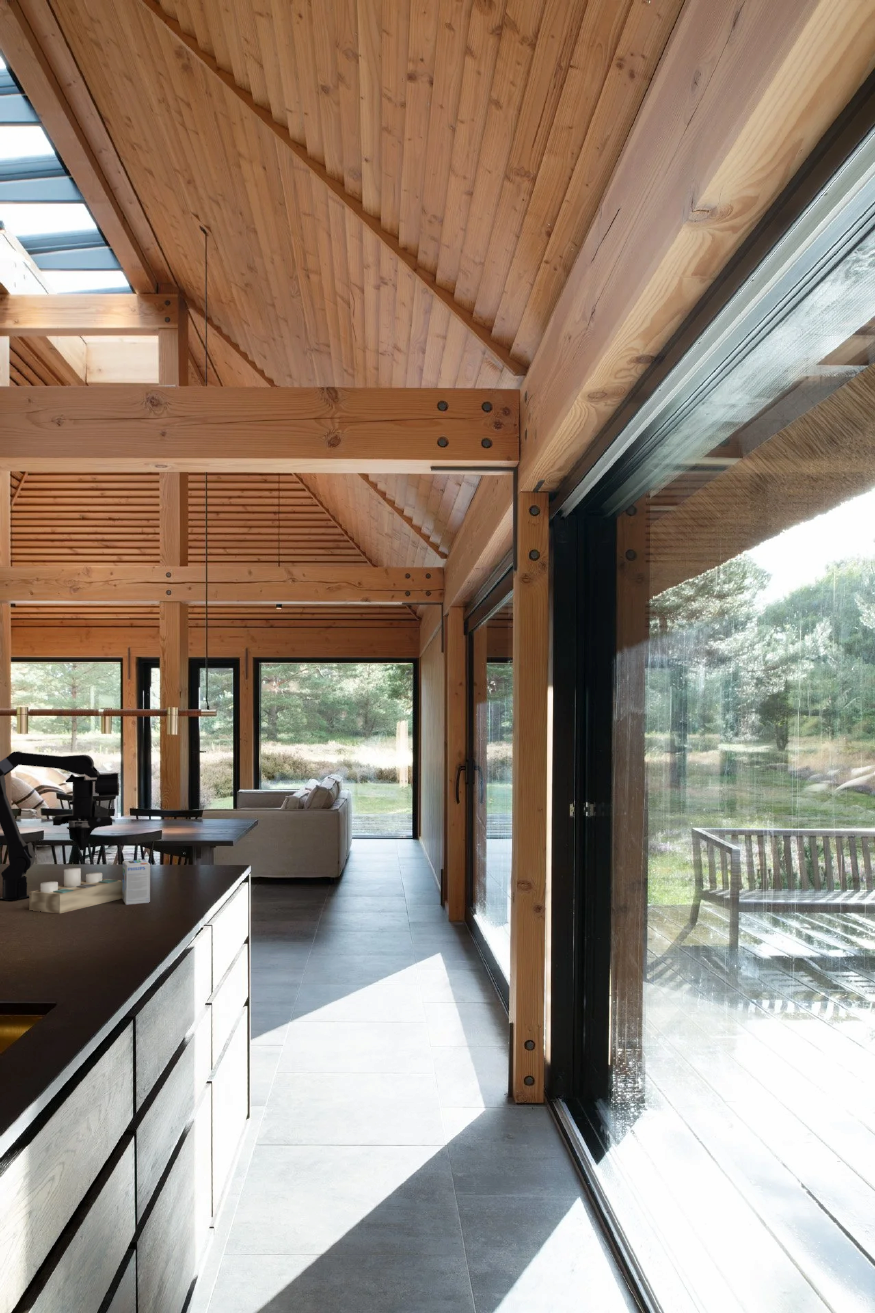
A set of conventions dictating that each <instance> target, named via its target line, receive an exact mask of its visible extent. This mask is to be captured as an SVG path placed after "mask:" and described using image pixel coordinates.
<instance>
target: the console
mask: <svg viewBox="0 0 875 1313" xmlns="http://www.w3.org/2000/svg"><path fill="white" fill-rule="evenodd" d="M122 880H123V879H109V878H102V881H99V882H96V883H89V882H86V879H83V880H81V885H80V886H76V887H73V888H70V887H64V884H60V885H59V884H58V890H57V891H53V892H49V893H46V892H40V891H41V888H40V889H37V890H32V891H29V898H28V900H29V901H28V902H29V905H28V906H29V908H28V910H29V911H30V910H33V911H34V912H40V911H41V912H40V913H53V914H63V913H68V912H72V911H76V910H80V909H84V908H89V907H92V906H96V905H100V904H105V903H109V902H112V901H113V902H114V901H116V900H117V901H118V900H121V899H122ZM122 900H123V899H122ZM33 911H32V912H33Z"/></svg>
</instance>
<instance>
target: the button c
mask: <svg viewBox="0 0 875 1313" xmlns="http://www.w3.org/2000/svg"><path fill="white" fill-rule="evenodd" d="M102 879H103V872H89V873H86V875H85V880H86V882H89V883H96V882H99V881H102Z"/></svg>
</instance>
